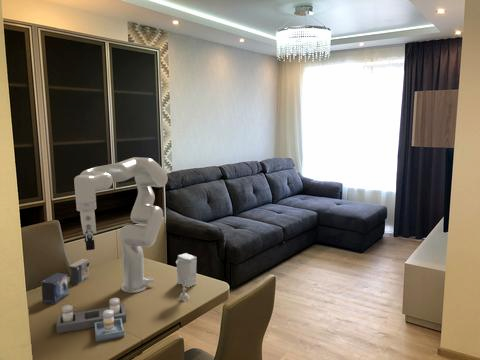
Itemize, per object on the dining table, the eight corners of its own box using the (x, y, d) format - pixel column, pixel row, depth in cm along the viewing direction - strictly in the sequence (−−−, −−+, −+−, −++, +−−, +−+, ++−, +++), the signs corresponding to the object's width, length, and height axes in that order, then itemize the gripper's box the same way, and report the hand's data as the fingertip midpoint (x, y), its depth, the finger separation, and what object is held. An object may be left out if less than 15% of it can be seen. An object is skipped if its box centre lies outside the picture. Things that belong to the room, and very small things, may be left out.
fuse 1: (73, 322, 164) (72, 304, 162) (73, 327, 160) (72, 308, 159) (63, 324, 162) (61, 305, 161) (62, 329, 159) (61, 310, 157)
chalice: (194, 296, 187) (194, 260, 184) (188, 303, 181) (187, 265, 178) (180, 294, 189) (179, 258, 186) (173, 300, 183) (172, 263, 180)
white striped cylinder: (114, 327, 159) (113, 308, 158) (114, 332, 155) (113, 313, 154) (103, 329, 158) (102, 310, 156) (104, 334, 154) (102, 315, 152)
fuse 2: (119, 314, 170) (119, 297, 169) (120, 319, 166) (119, 301, 165) (109, 316, 169) (109, 298, 167) (110, 321, 165) (109, 302, 164)
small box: (54, 305, 178) (53, 283, 176) (42, 303, 179) (40, 281, 178) (69, 294, 188) (68, 273, 187) (57, 293, 190) (55, 272, 188)
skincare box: (176, 283, 201) (176, 255, 199) (185, 280, 206) (185, 252, 203) (188, 288, 196) (187, 259, 193) (197, 284, 200) (196, 256, 198)
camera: (76, 286, 198) (75, 266, 196) (67, 284, 199) (65, 265, 198) (91, 277, 208) (90, 258, 207) (82, 275, 210) (81, 257, 208)
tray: (121, 323, 163) (121, 318, 163) (124, 336, 154) (123, 330, 153) (95, 328, 159) (94, 322, 159) (95, 342, 150) (95, 336, 150)
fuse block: (124, 311, 173) (123, 304, 173) (126, 321, 165) (125, 314, 164) (58, 322, 164) (57, 315, 163) (56, 333, 156) (56, 326, 155)
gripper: (98, 209, 156) (101, 251, 159) (94, 199, 171) (97, 238, 174) (77, 212, 153) (80, 254, 156) (75, 201, 168) (79, 240, 172)
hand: (89, 245), depth 165 cm, fingers open, 9 cm apart
